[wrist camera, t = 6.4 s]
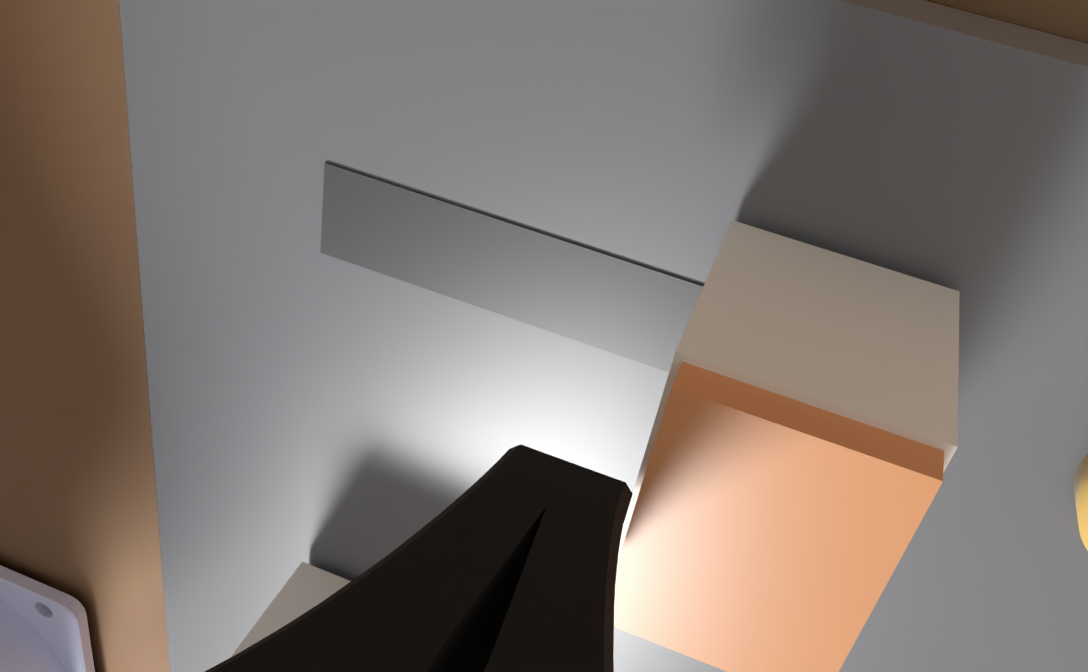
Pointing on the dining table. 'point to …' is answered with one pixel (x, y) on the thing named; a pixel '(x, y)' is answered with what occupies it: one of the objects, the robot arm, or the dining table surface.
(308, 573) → the cream rectangular block
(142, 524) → the dining table surface
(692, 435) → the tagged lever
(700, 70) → the panel
